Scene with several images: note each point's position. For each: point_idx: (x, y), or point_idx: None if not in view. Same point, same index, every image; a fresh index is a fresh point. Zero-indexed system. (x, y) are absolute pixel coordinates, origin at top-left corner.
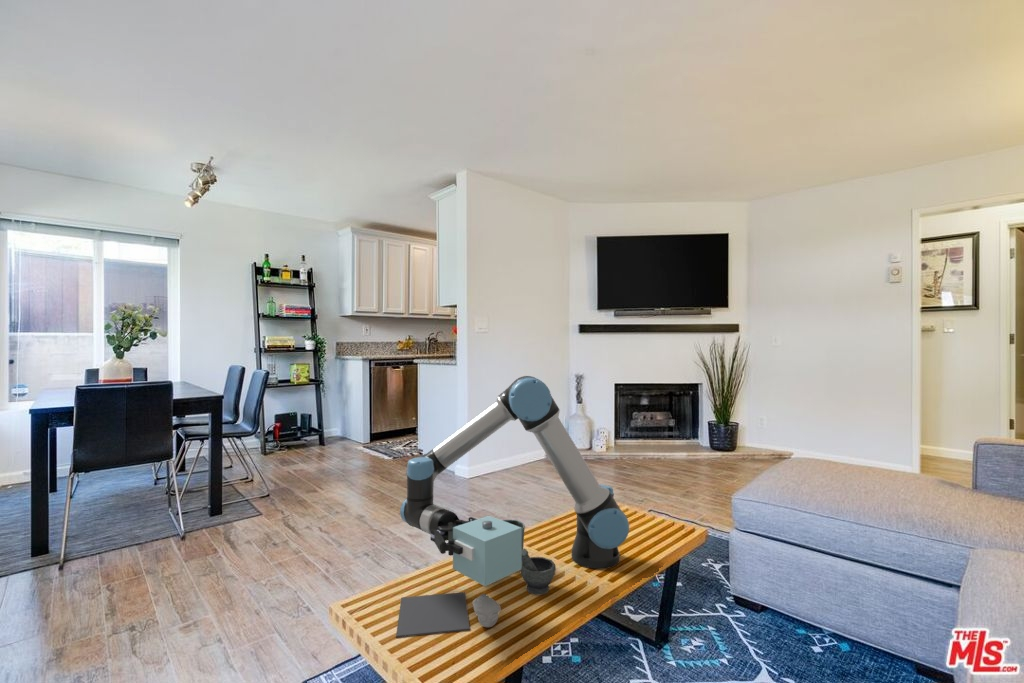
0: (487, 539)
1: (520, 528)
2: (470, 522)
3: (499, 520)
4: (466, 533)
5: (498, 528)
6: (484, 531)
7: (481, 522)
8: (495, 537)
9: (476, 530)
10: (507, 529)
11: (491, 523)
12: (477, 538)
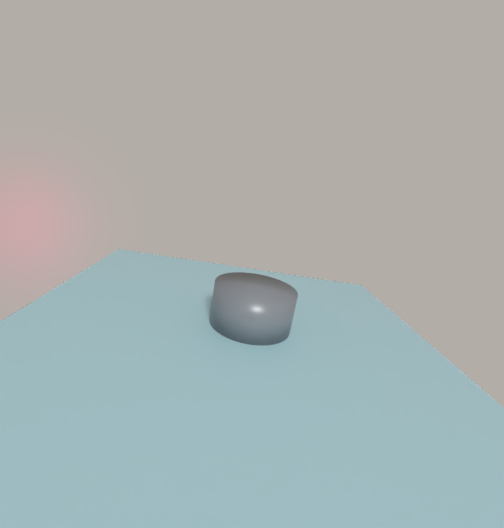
0: (342, 284)
1: (126, 252)
2: (329, 517)
3: (34, 319)
4: (448, 361)
5: (206, 288)
6: (308, 312)
7: (193, 404)
8: (298, 276)
9: (354, 342)
10: (183, 269)
11: (243, 273)
12: (385, 306)
